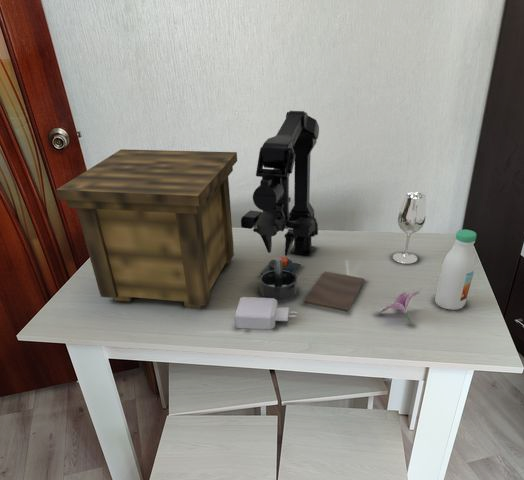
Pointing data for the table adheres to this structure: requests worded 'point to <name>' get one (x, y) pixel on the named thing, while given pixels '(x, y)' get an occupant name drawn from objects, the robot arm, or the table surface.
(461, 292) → the milk bottle
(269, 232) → the robot arm
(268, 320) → the charger
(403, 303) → the lily
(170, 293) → the crate
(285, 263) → the button
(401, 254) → the wineglass
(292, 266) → the button block
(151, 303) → the table surface
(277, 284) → the blade
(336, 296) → the cutting board
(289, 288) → the dark fan housing
